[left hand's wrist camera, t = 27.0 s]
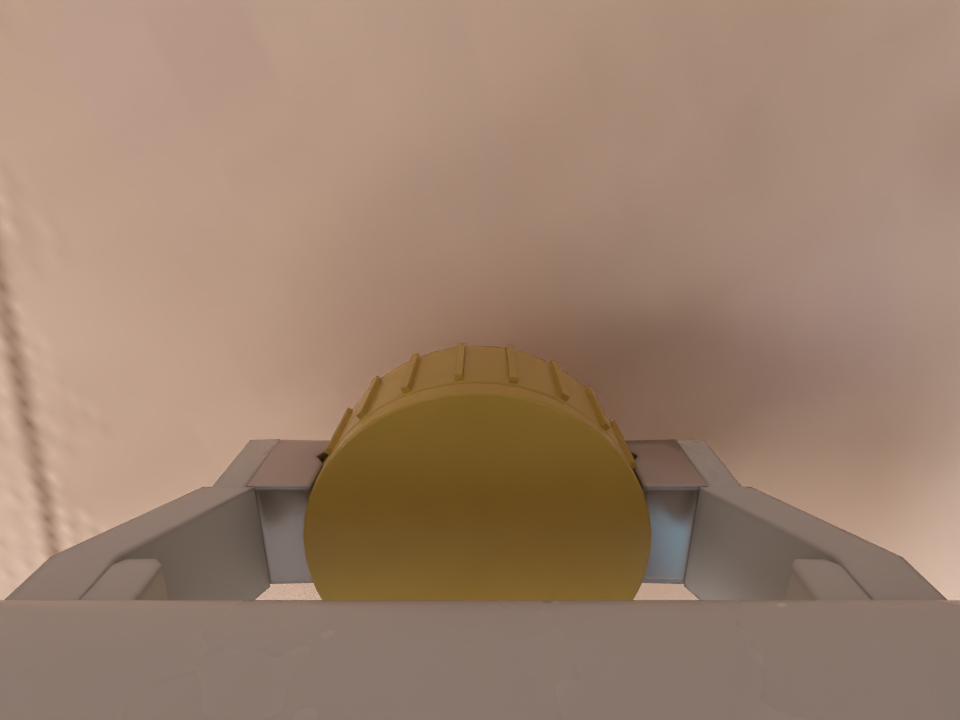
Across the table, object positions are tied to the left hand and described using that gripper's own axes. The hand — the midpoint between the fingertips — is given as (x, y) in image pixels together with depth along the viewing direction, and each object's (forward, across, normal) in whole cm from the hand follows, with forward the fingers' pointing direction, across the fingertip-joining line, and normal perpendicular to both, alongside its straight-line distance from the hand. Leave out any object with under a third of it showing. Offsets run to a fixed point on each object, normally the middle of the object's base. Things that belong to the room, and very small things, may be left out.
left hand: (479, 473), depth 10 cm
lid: (-2, 0, 0) cm, 2 cm away
